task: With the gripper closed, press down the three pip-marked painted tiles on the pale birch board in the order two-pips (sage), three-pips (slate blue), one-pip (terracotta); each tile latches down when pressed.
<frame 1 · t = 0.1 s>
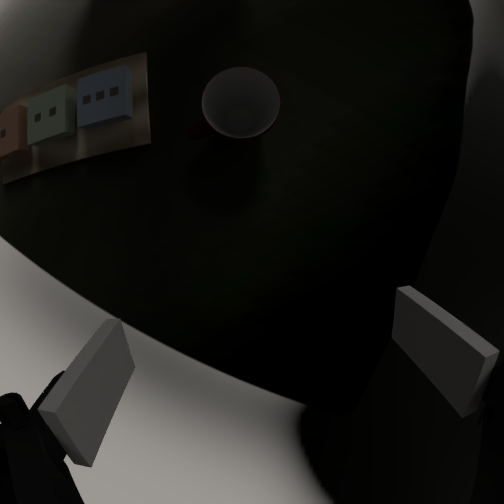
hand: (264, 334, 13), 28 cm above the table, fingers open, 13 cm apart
tile 2: (50, 116, 31), point 4 cm above the table, slide at 0.0 cm
board: (63, 119, 34), on the table
mug: (231, 125, 37), on the table
tile 1: (8, 134, 30), point 4 cm above the table, slide at 0.0 cm
tile 3: (104, 97, 31), point 4 cm above the table, slide at 0.0 cm
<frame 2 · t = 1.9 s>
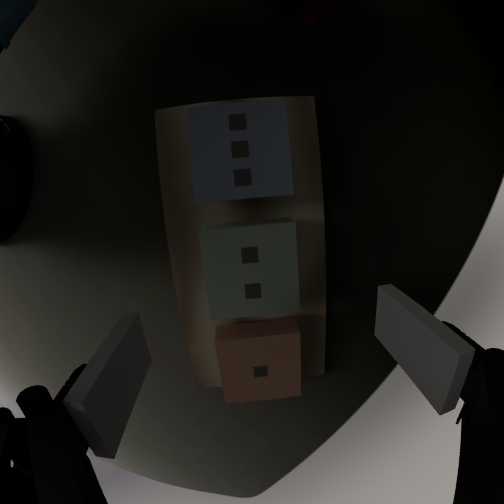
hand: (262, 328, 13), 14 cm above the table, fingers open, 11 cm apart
tile 2: (250, 268, 23), point 4 cm above the table, slide at 0.0 cm
board: (248, 255, 27), on the table
mug: (286, 5, 22), on the table
tile 1: (259, 362, 26), point 4 cm above the table, slide at 0.0 cm
tile 3: (239, 151, 21), point 4 cm above the table, slide at 0.0 cm
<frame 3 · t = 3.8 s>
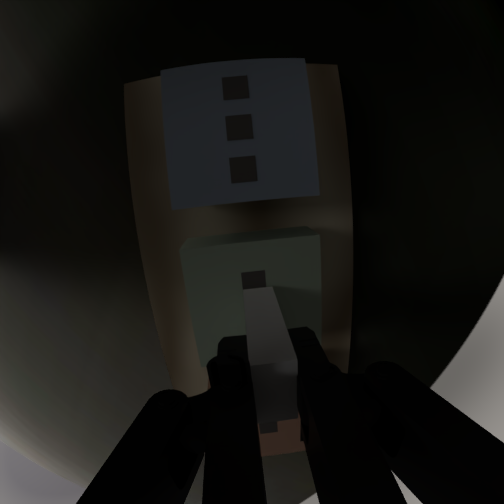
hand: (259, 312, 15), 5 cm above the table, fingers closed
tile 2: (254, 297, 17), point 4 cm above the table, slide at 0.4 cm, touching gripper
board: (250, 277, 20), on the table
tile 1: (266, 413, 19), point 4 cm above the table, slide at 0.0 cm
tile 3: (238, 131, 14), point 4 cm above the table, slide at 0.0 cm
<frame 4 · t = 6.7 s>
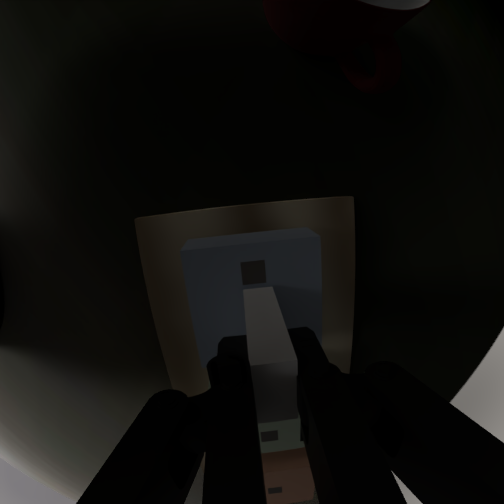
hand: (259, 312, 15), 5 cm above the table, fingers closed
tile 2: (266, 410, 19), point 3 cm above the table, slide at 0.7 cm
board: (262, 384, 22), on the table
mug: (316, 44, 16), on the table
tile 1: (273, 478, 21), point 4 cm above the table, slide at 0.0 cm
tile 3: (255, 298, 17), point 3 cm above the table, slide at 0.7 cm, touching gripper
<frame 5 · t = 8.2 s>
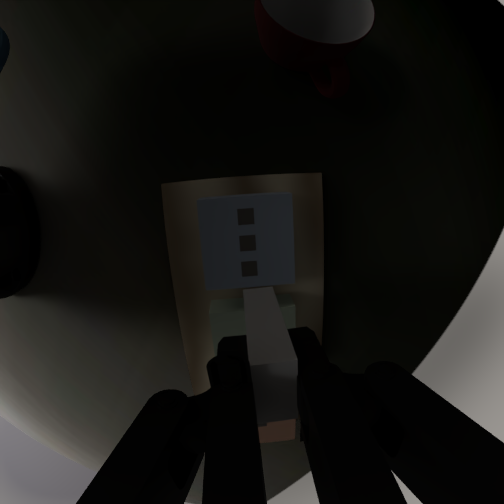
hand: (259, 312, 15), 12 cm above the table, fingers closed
tile 2: (253, 338, 26), point 3 cm above the table, slide at 0.7 cm
board: (251, 322, 29), on the table
mug: (298, 61, 23), on the table
tile 1: (259, 413, 27), point 4 cm above the table, slide at 0.0 cm
tile 3: (246, 239, 24), point 3 cm above the table, slide at 0.7 cm
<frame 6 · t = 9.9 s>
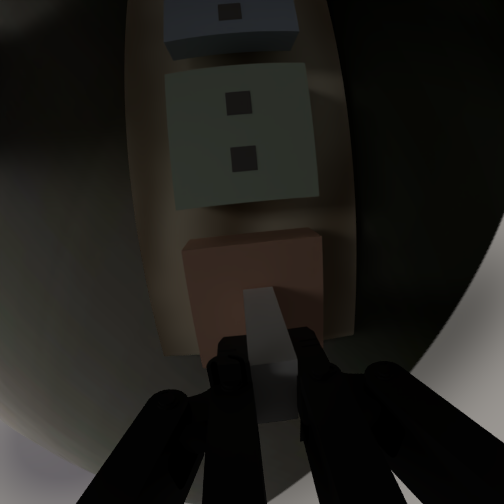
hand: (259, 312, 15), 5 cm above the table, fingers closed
tile 2: (240, 134, 15), point 3 cm above the table, slide at 0.7 cm
board: (239, 141, 18), on the table
tile 1: (256, 298, 17), point 3 cm above the table, slide at 0.6 cm, touching gripper
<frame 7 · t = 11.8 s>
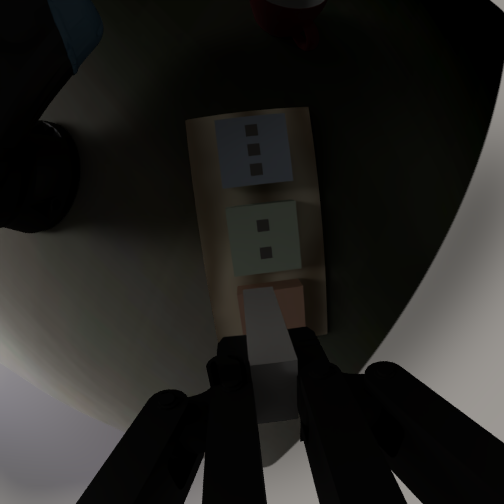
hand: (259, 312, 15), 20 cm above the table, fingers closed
tile 2: (263, 236, 31), point 3 cm above the table, slide at 0.7 cm
board: (261, 232, 34), on the table
mug: (284, 32, 29), on the table
tile 1: (272, 315, 33), point 3 cm above the table, slide at 0.7 cm
tile 3: (253, 151, 29), point 3 cm above the table, slide at 0.7 cm
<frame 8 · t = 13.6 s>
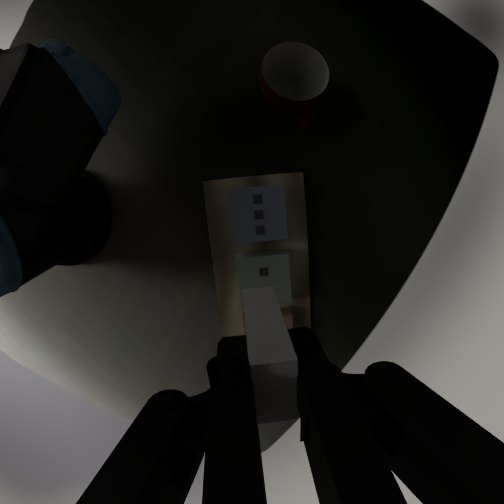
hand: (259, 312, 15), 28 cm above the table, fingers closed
tile 2: (263, 278, 41), point 3 cm above the table, slide at 0.7 cm
board: (261, 271, 44), on the table
mug: (287, 99, 39), on the table
tile 1: (268, 334, 44), point 3 cm above the table, slide at 0.7 cm
tile 3: (258, 213, 39), point 3 cm above the table, slide at 0.7 cm
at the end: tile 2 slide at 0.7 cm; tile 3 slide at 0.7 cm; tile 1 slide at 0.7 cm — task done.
